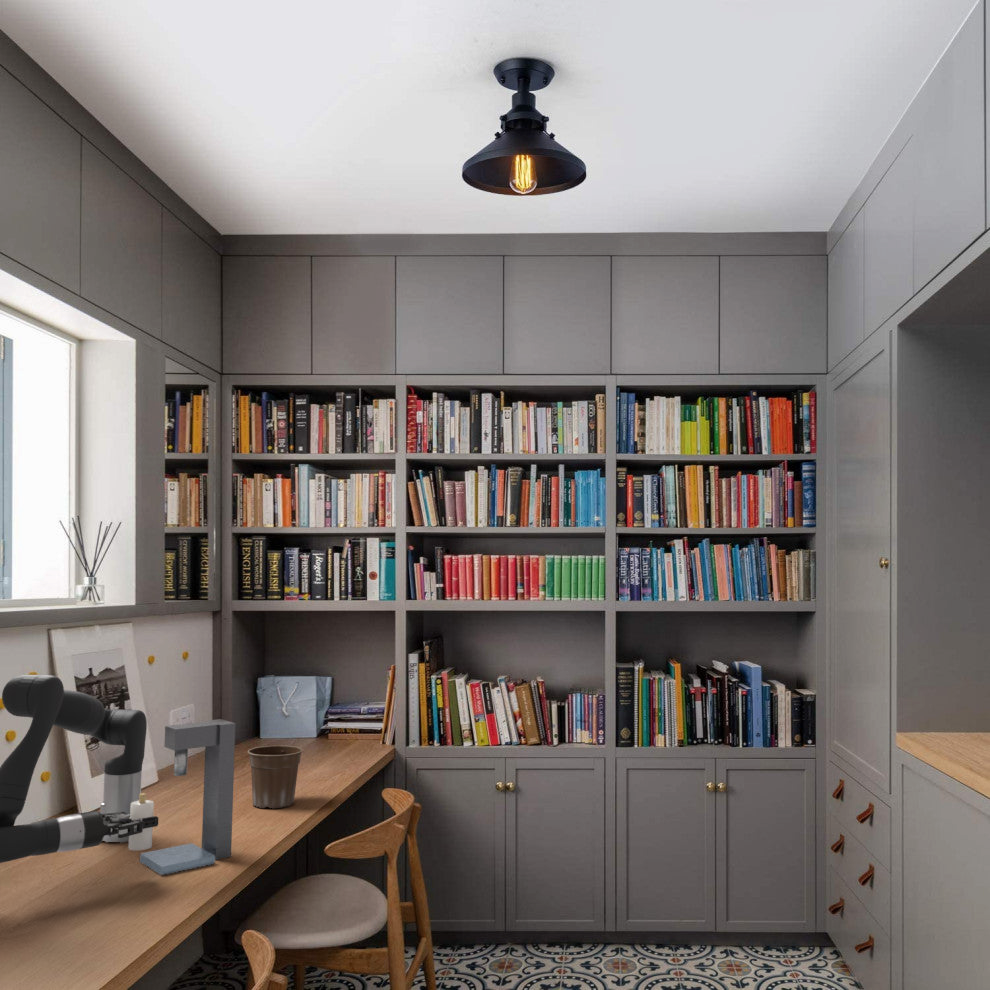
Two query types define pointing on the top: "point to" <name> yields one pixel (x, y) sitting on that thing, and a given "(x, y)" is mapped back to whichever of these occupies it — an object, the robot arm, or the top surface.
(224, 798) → the press
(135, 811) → the white cylinder
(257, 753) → the plant pot
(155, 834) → the top surface
